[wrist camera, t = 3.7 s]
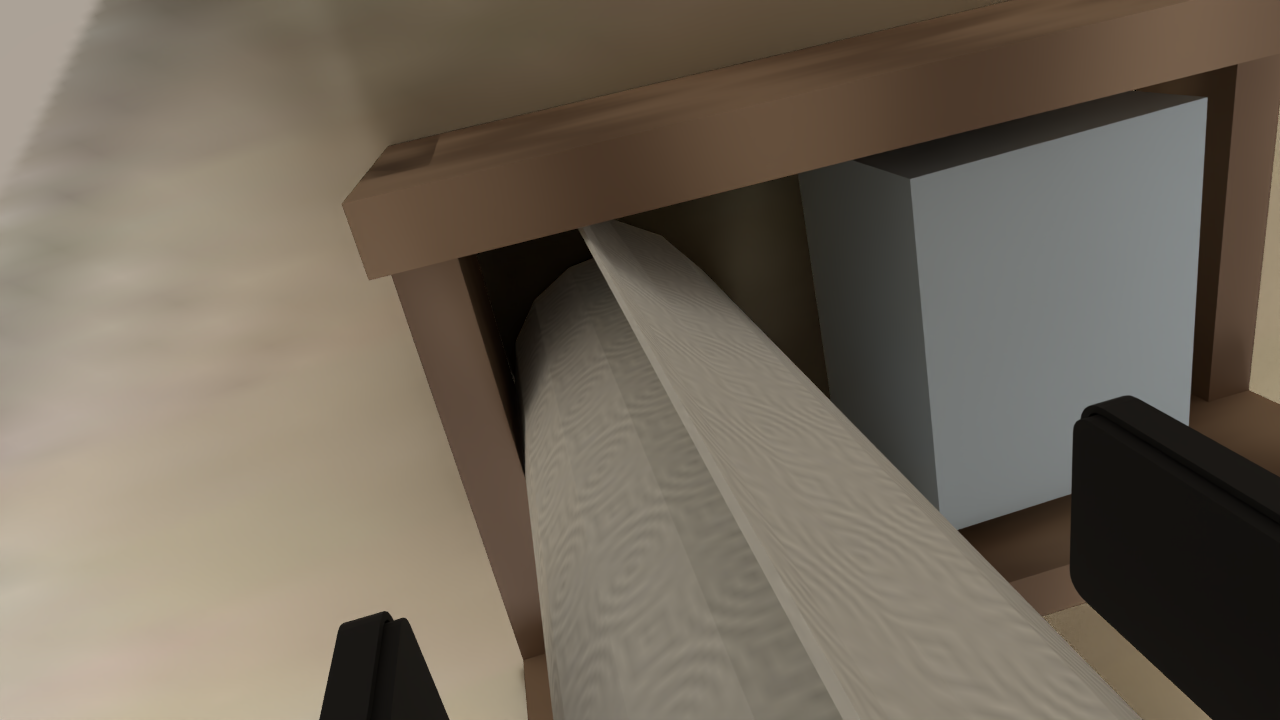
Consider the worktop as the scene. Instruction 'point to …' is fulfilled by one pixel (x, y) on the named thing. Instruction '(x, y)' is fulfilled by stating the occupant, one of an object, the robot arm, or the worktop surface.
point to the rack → (802, 141)
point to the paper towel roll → (745, 528)
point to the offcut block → (1010, 290)
